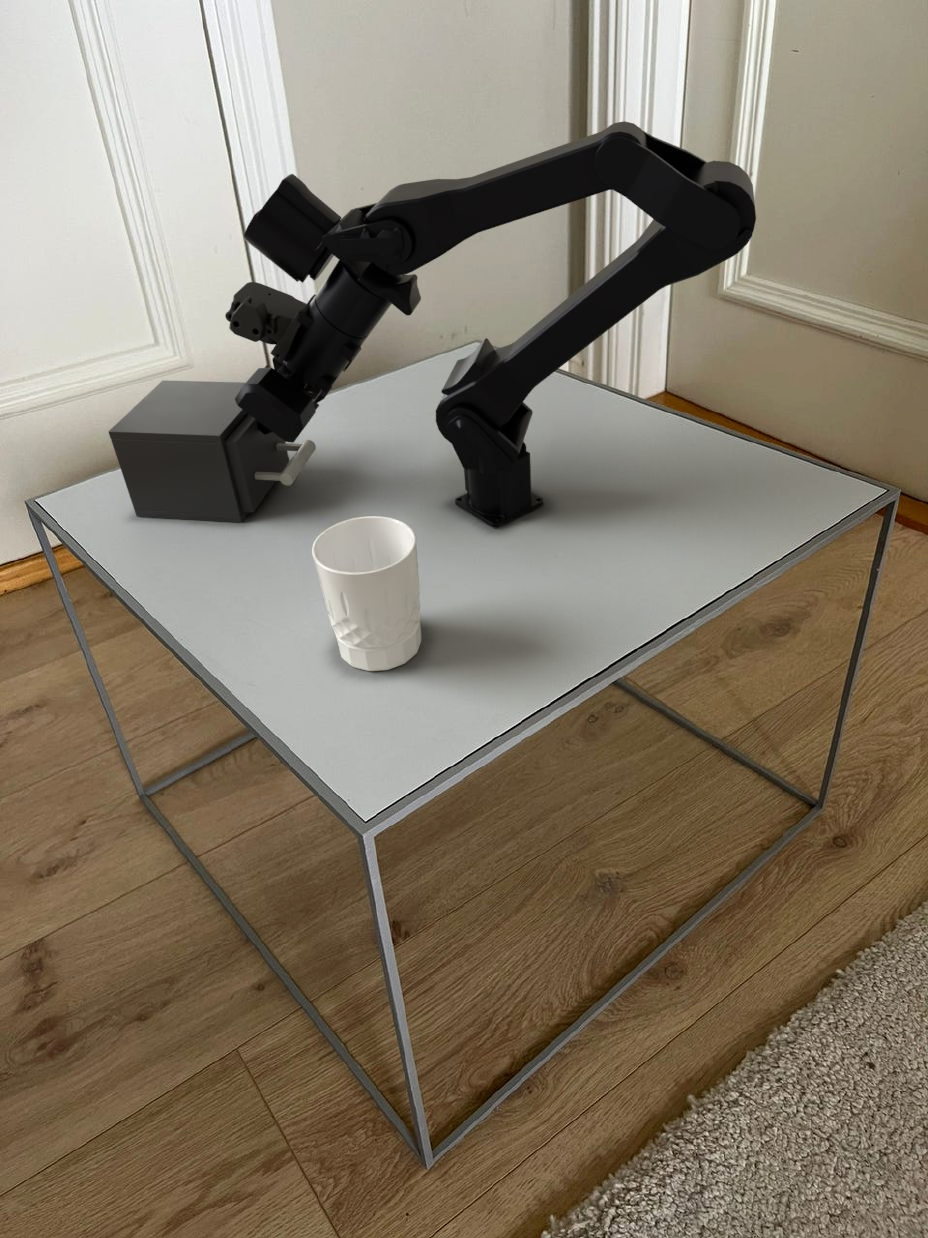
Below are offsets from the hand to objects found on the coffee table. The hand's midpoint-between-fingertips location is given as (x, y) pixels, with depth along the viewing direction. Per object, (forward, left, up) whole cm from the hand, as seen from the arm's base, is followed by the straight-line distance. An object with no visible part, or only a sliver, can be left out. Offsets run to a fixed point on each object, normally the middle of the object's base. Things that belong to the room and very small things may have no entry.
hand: (262, 430), depth 94 cm
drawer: (+3, +2, -6) cm, 7 cm away
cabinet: (+6, +5, -7) cm, 10 cm away
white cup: (-28, +6, -7) cm, 30 cm away
